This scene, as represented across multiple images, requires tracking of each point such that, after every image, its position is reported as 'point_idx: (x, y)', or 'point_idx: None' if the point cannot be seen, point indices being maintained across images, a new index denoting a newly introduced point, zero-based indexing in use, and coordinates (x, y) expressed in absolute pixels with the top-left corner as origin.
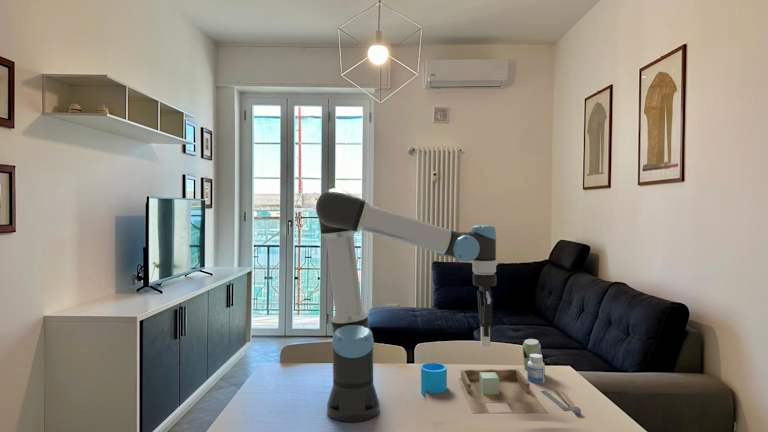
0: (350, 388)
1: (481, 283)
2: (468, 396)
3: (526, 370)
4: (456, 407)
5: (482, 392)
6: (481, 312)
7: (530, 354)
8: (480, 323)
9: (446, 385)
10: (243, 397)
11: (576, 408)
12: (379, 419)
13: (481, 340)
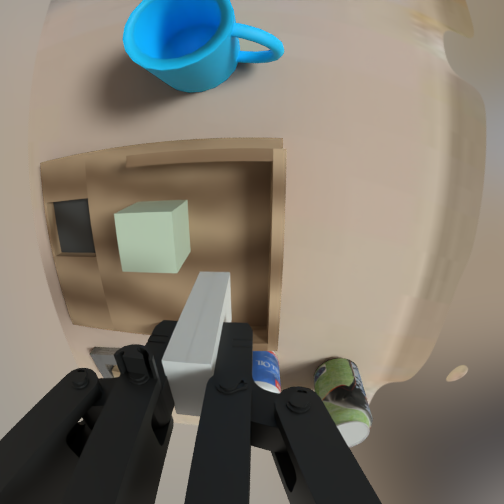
0: None
1: None
2: (122, 155)
3: (331, 363)
4: (95, 121)
5: (139, 202)
6: (188, 502)
7: None
8: (223, 377)
9: (176, 85)
10: None
11: (105, 374)
12: None
13: (198, 288)
